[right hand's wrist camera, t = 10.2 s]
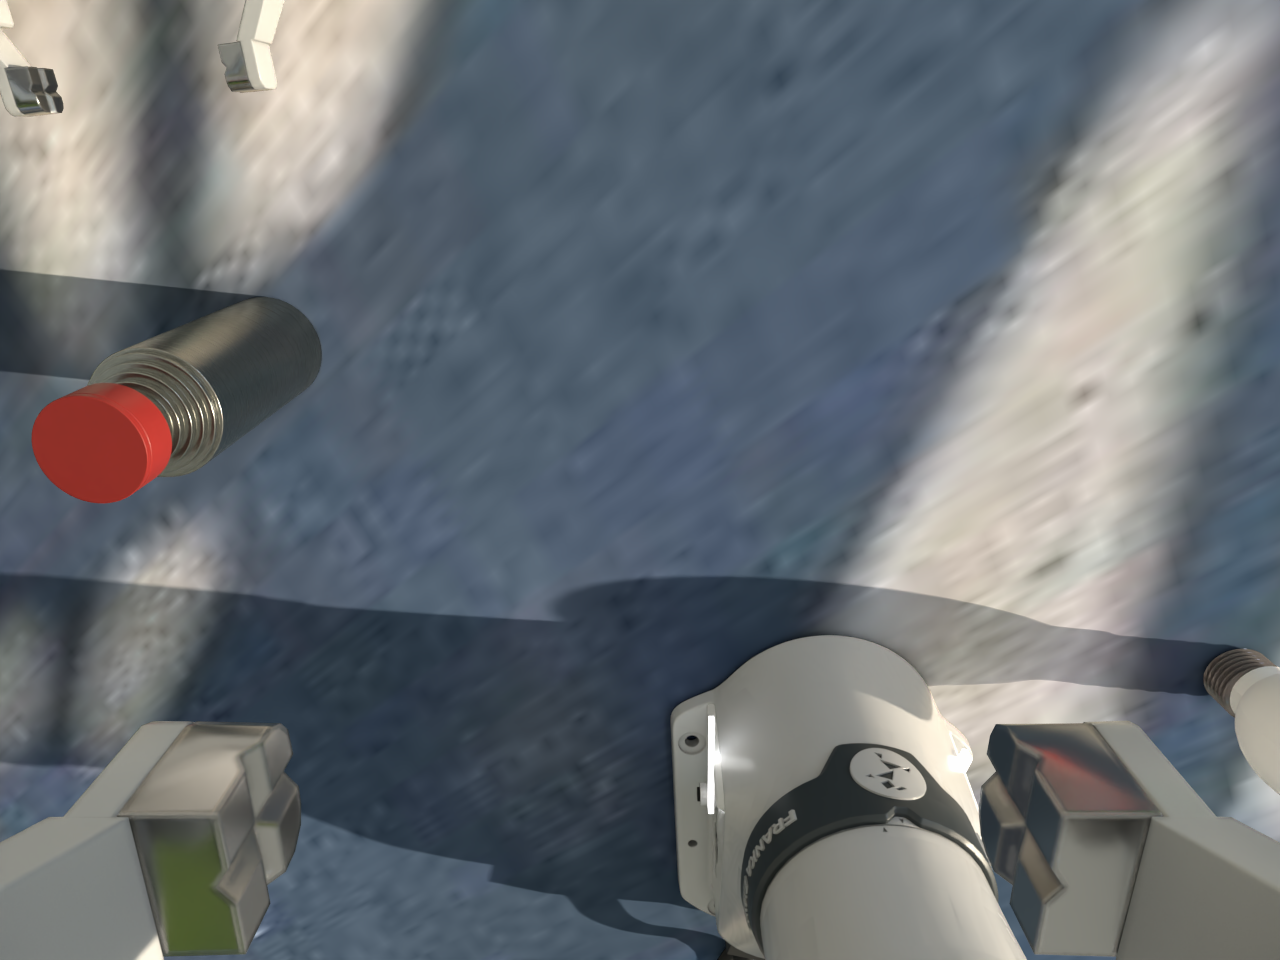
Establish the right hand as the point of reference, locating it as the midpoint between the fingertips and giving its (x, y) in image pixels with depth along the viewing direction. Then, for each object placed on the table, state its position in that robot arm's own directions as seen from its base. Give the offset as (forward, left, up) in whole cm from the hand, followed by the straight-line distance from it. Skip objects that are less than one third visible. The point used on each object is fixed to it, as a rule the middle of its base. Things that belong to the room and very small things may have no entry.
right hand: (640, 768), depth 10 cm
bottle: (-6, +19, -38) cm, 43 cm away
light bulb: (-18, -39, -38) cm, 58 cm away
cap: (-6, +19, -22) cm, 30 cm away
